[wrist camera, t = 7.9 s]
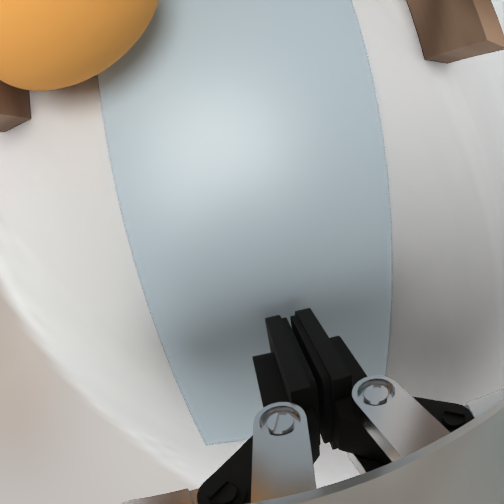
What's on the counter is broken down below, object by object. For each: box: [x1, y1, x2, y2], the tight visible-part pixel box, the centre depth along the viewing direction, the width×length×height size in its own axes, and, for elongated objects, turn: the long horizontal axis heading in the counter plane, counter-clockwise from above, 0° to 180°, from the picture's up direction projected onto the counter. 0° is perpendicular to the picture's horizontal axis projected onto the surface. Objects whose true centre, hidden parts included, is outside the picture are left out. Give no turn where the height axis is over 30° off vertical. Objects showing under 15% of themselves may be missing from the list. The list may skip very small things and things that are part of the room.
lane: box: [98, 0, 392, 445], centre depth 9 cm, size 36×10×1 cm, turn 10°
